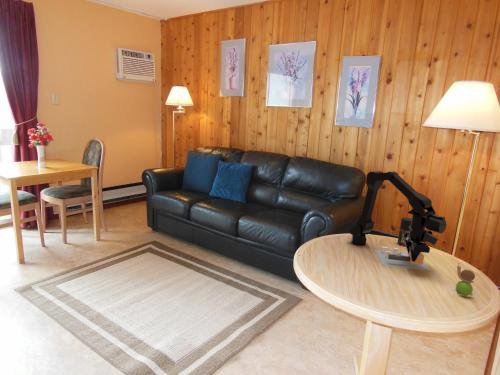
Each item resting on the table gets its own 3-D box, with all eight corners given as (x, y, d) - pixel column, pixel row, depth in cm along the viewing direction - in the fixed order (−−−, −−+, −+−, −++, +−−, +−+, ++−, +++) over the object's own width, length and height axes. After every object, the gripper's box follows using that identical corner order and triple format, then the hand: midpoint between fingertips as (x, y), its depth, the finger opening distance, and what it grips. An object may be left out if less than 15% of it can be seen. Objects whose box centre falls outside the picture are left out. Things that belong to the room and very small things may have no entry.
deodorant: (397, 247, 174) (402, 219, 171) (396, 243, 180) (400, 216, 177) (410, 249, 173) (415, 221, 169) (408, 245, 178) (413, 218, 175)
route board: (382, 267, 150) (382, 265, 149) (373, 251, 167) (374, 249, 167) (429, 273, 147) (430, 270, 147) (416, 256, 164) (417, 254, 164)
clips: (384, 257, 157) (385, 251, 157) (381, 252, 164) (382, 246, 163) (400, 259, 156) (401, 253, 156) (397, 254, 163) (397, 248, 162)
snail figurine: (453, 288, 135) (459, 260, 132) (472, 294, 131) (478, 265, 128) (450, 293, 130) (456, 264, 128) (470, 299, 126) (476, 270, 124)
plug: (389, 260, 149) (390, 252, 148) (387, 257, 153) (388, 248, 152) (422, 264, 147) (424, 256, 146) (419, 260, 151) (421, 252, 150)
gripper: (446, 235, 136) (439, 271, 139) (429, 221, 154) (423, 253, 157) (417, 232, 137) (411, 267, 141) (404, 218, 155) (398, 250, 159)
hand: (411, 259), depth 149 cm, fingers closed on plug, 4 cm apart
